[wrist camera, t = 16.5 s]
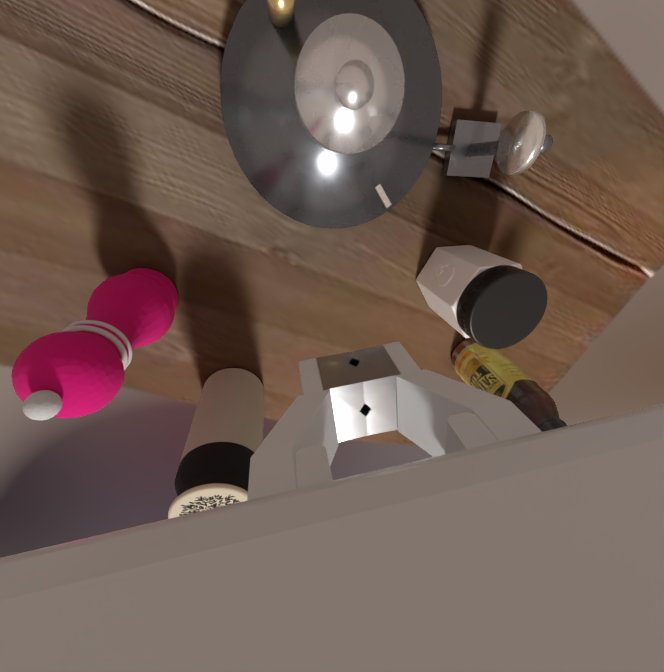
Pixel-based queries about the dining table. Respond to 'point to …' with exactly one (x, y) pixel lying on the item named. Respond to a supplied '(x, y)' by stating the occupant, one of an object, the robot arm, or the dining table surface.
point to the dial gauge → (494, 145)
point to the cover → (348, 84)
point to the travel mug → (220, 443)
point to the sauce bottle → (505, 382)
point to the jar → (483, 295)
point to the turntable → (286, 132)
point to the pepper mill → (94, 347)
